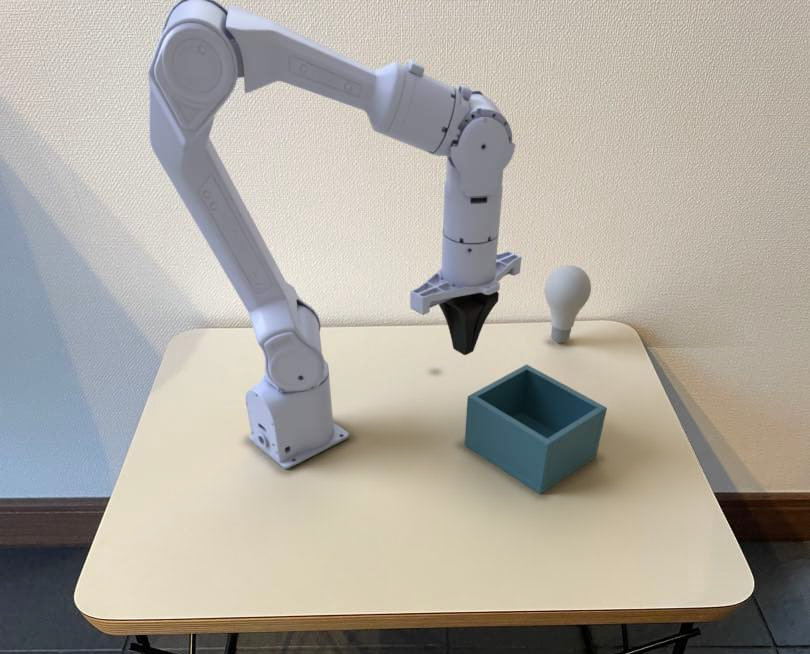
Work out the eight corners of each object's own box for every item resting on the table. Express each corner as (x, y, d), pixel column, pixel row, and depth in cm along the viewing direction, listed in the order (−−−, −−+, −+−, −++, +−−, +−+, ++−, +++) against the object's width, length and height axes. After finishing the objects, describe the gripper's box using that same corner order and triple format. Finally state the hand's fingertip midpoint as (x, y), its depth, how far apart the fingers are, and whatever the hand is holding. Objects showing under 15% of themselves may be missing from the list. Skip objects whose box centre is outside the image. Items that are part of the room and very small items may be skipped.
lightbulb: (531, 346, 107) (541, 272, 100) (546, 327, 111) (557, 253, 103) (572, 357, 105) (586, 282, 98) (586, 337, 109) (600, 263, 101)
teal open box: (548, 444, 80) (607, 407, 85) (467, 396, 87) (526, 364, 91) (539, 494, 85) (596, 456, 90) (464, 445, 92) (520, 412, 96)
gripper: (444, 266, 72) (440, 388, 82) (547, 225, 79) (532, 342, 89) (396, 242, 76) (397, 361, 86) (499, 204, 83) (489, 318, 92)
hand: (463, 350), depth 87 cm, fingers closed
